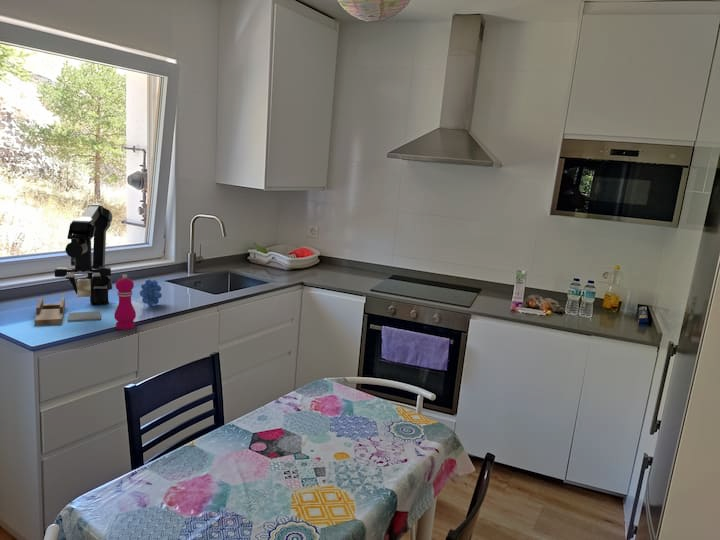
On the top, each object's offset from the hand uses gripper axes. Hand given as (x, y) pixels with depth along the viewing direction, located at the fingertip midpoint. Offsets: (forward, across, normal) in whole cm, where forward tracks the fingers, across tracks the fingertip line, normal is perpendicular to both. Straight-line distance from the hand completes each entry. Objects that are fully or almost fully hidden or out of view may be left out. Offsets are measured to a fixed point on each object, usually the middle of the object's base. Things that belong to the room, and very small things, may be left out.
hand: (84, 293), depth 197 cm
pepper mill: (+10, -14, +17) cm, 24 cm away
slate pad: (+9, 0, 0) cm, 9 cm away
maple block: (+1, 0, -1) cm, 1 cm away
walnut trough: (+9, +12, -5) cm, 16 cm away
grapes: (+10, -26, -11) cm, 29 cm away
